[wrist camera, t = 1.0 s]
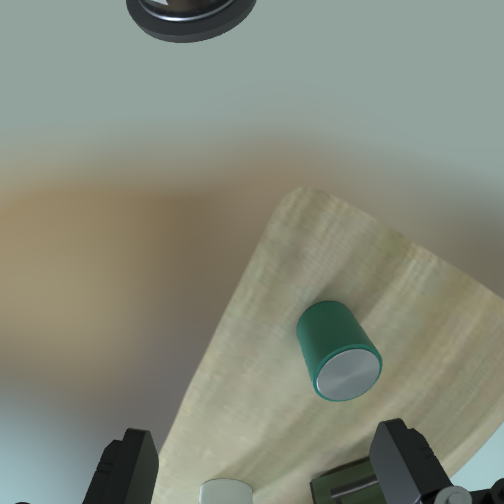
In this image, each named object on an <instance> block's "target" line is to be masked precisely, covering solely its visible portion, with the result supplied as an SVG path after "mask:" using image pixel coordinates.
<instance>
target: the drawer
mask: <svg viewBox="0 0 504 504" xmlns="http://www.w3.org/2000/svg"><path fill="white" fill-rule="evenodd" d="M312 484H313V489H314V494H315V499H316V504H387V502H386V499H385V496H384V494H383V491H382V489H381V486H380V484H379V481H378V479H377V476H376V474H375V471H374V469H373V466H372V464H371V461H367V462H365V463H362V464H359V465H357V466H354V467H351V468H348V469H345V470H342V471H339V472H336V473H333V474H329V475H326V476H323V477H319V478H316V479H312Z"/></svg>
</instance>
